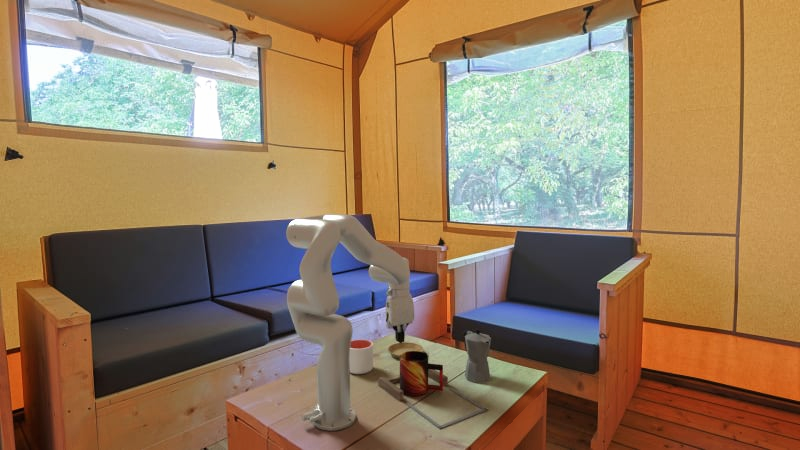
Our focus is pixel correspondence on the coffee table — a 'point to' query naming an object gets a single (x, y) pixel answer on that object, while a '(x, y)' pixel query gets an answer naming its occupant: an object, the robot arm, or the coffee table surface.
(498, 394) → the coffee table surface
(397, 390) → the frame
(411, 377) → the mug
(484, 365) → the coffeepot
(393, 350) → the plant saucer
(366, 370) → the cup
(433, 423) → the frame
